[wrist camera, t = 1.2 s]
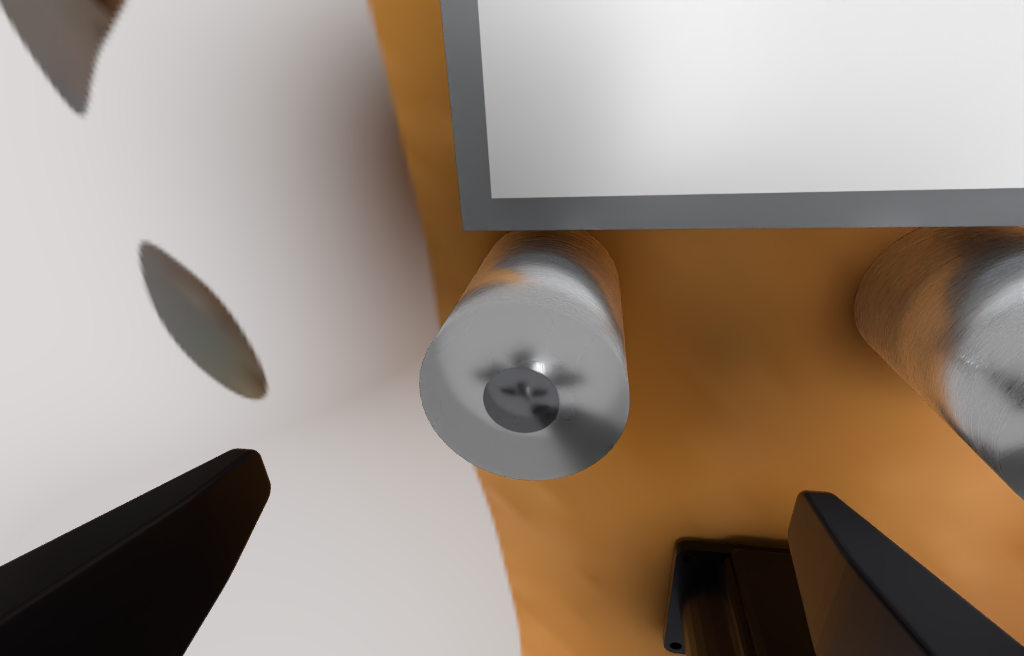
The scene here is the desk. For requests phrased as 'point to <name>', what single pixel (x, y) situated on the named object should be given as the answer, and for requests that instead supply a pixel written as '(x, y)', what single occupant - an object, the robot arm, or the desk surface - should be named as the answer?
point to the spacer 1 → (532, 359)
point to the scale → (736, 113)
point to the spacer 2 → (956, 332)
